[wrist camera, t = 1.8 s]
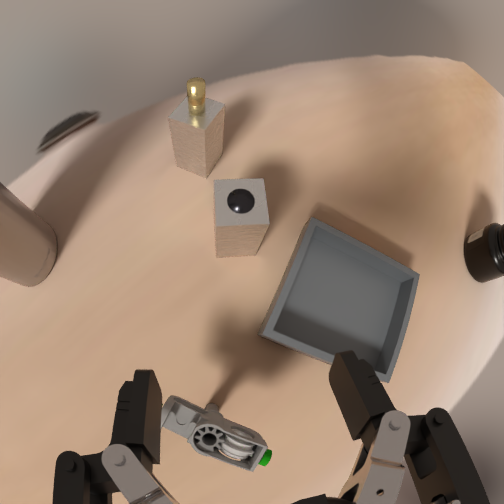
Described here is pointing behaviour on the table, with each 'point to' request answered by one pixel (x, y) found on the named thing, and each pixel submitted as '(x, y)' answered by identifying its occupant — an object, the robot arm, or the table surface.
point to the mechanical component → (215, 433)
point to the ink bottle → (485, 253)
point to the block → (239, 216)
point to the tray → (342, 300)
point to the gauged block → (197, 130)
